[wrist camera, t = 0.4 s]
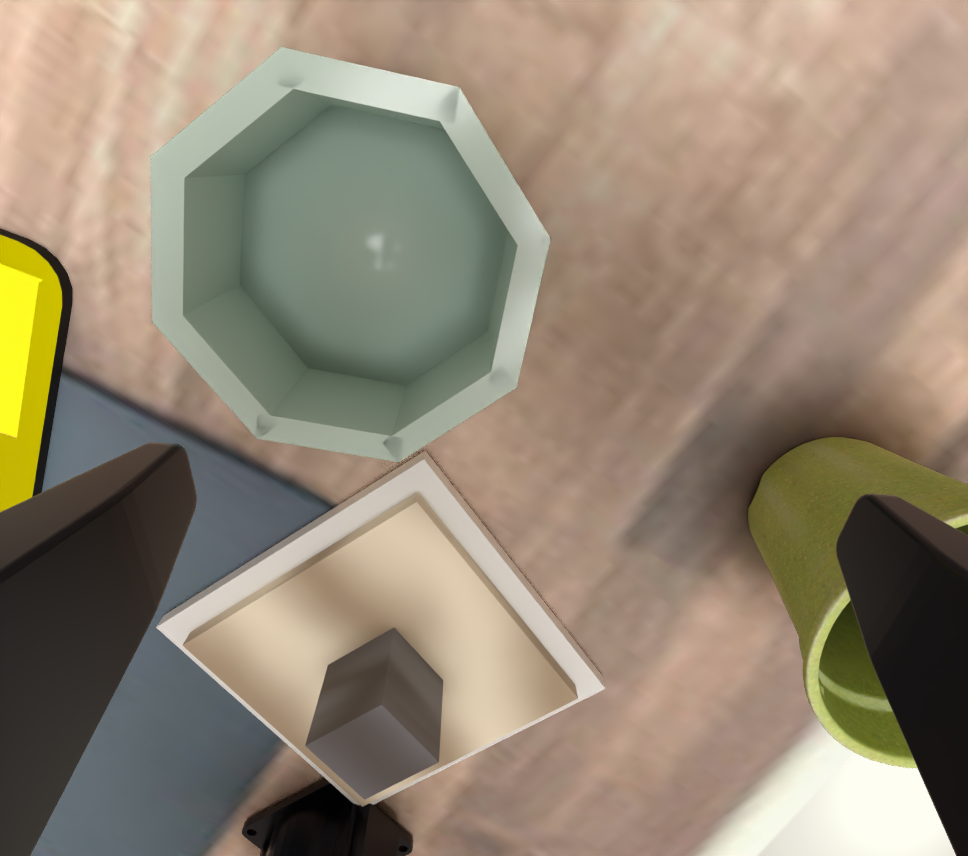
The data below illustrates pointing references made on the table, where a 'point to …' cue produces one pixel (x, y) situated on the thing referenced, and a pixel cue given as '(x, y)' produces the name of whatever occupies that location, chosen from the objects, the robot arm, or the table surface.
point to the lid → (384, 655)
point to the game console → (29, 361)
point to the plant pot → (839, 574)
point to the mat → (355, 514)
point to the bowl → (344, 256)
